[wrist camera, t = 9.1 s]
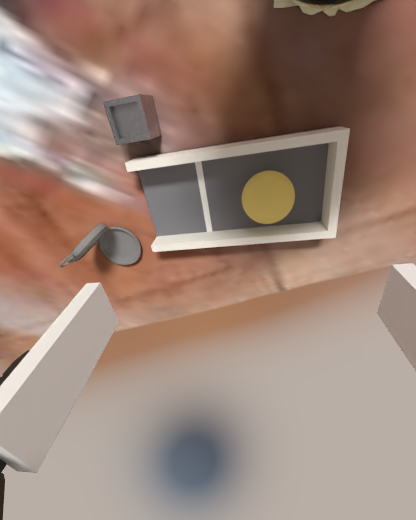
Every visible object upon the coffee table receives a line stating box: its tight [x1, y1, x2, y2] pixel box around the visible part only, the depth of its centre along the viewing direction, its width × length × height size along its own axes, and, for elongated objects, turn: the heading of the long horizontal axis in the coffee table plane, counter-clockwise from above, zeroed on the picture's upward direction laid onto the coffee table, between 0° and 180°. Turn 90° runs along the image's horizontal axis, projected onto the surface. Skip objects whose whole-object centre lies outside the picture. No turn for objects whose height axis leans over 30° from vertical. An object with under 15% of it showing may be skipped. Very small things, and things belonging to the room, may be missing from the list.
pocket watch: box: [60, 223, 141, 267], centre depth 34 cm, size 8×8×10 cm
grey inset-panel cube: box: [103, 94, 161, 145], centre depth 27 cm, size 4×4×4 cm
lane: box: [125, 126, 350, 252], centre depth 30 cm, size 24×12×4 cm, turn 99°
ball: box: [242, 170, 295, 224], centre depth 28 cm, size 6×6×6 cm
